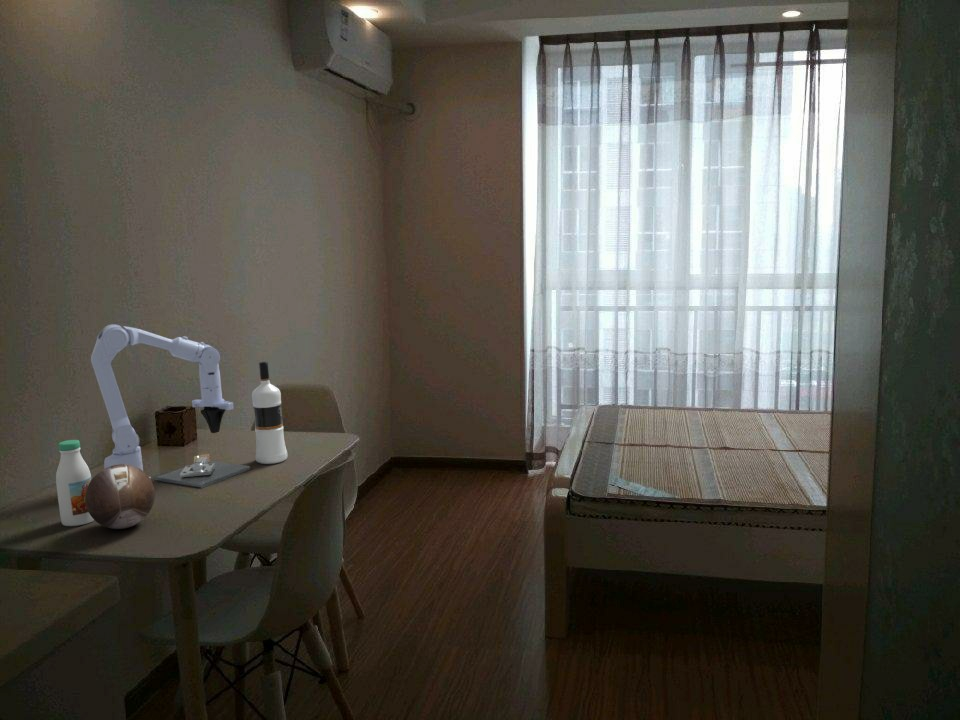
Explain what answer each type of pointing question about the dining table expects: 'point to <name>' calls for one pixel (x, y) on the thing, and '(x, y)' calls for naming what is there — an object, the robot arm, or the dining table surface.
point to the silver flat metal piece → (207, 470)
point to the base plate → (217, 475)
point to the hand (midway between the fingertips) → (215, 432)
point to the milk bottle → (72, 484)
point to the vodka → (268, 420)
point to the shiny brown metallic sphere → (120, 496)
